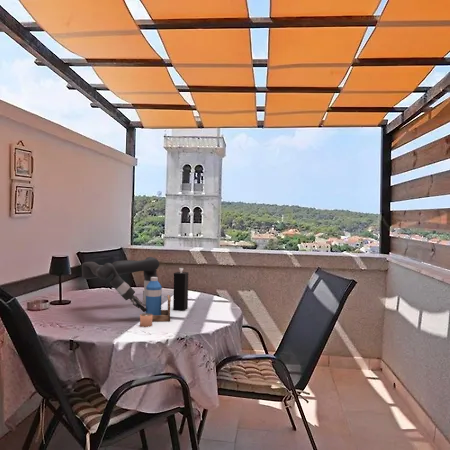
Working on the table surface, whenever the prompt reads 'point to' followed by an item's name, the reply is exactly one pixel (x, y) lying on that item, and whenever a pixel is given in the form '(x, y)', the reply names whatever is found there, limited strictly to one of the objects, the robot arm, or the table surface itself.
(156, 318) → the brown wooden frame
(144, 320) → the clay pot
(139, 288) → the table surface
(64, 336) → the table surface
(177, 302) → the black square pillar
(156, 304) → the water bottle
